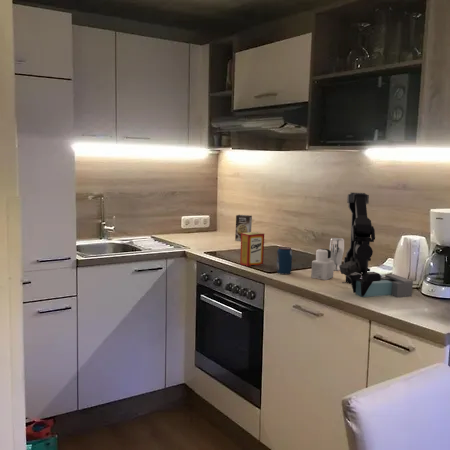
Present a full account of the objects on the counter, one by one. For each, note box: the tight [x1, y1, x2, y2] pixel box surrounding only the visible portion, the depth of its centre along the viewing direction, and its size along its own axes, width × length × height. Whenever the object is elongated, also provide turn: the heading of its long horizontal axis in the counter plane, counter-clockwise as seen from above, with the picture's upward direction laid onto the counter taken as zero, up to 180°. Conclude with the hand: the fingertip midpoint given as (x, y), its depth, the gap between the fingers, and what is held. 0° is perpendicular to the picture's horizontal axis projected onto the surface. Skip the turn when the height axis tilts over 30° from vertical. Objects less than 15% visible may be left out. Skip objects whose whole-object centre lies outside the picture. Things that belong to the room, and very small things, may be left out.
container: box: [310, 248, 335, 281], centre depth 246 cm, size 8×8×13 cm
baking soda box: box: [239, 231, 265, 267], centre depth 271 cm, size 10×6×16 cm
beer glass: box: [328, 237, 345, 272], centre depth 265 cm, size 7×7×15 cm
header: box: [381, 273, 414, 298], centre depth 217 cm, size 12×7×7 cm, turn 20°
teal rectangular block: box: [355, 280, 392, 298], centre depth 214 cm, size 5×14×5 cm, turn 110°
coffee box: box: [234, 214, 253, 242], centre depth 345 cm, size 9×6×16 cm
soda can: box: [275, 246, 293, 275], centre depth 253 cm, size 7×7×12 cm
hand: (358, 294), depth 212 cm, fingers closed on teal rectangular block, 5 cm apart
